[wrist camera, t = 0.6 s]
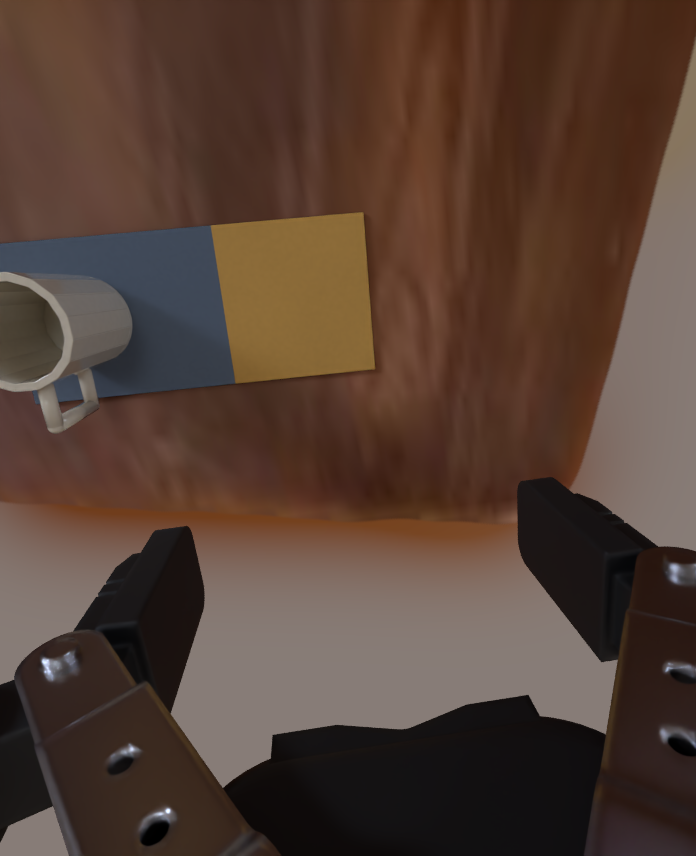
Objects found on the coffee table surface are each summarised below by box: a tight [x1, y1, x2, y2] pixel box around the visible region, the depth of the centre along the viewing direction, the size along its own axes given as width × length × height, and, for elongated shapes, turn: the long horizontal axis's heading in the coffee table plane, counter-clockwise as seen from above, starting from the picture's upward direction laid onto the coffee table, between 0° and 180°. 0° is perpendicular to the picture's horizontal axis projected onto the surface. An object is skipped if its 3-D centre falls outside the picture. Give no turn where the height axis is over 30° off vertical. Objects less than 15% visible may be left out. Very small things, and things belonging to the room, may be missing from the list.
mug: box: [0, 272, 132, 434], centre depth 31 cm, size 9×6×10 cm
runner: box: [0, 212, 375, 404], centre depth 35 cm, size 11×25×1 cm, turn 95°
